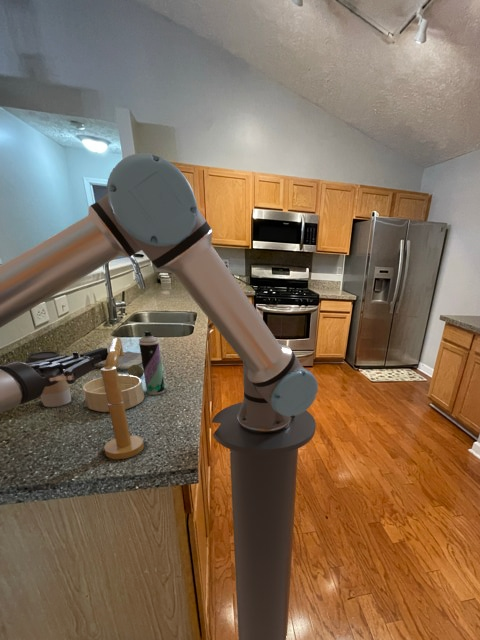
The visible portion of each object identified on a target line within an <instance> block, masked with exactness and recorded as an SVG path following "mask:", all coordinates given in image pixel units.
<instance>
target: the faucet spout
mask: <svg viewBox="0 0 480 640" xmlns="http://www.w3.org/2000/svg"><path fill="white" fill-rule="evenodd" d="M122 344H123V342H122V340H121V339H120V338H118V337H114V338H113V339H112V340H111V343H110V347H109V349H108V355H107V359H106V362H105V365H104V368H100V374H101V377H102V378H103V382H104V387H105V392H106V396H107V401H108V403H109V404H118V403H120V402H122V395H121V390H120V385H119V380H118V375H119V374H118V370H117V365H118V360H119V357H121V356H123V355H124V354H123V352H124V349H123V345H122Z"/></svg>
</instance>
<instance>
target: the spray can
mask: <svg viewBox="0 0 480 640" xmlns="http://www.w3.org/2000/svg"><path fill="white" fill-rule="evenodd" d="M159 343H160V342H159V339H158V338H157V337H155V336H154V335H153V334H152V332H151V331H148V330H144V332H143V335H142V337H141V338H139V339H138V346H139V351H140V352H139V353H141V358H142V364H143V366H142V368H143V371H144V374H143V377H144V383H145V389H146V394H148V395H150V396H158V395H162V394H164V393H165V392H166V388H165V379H164V373H163V366H162V358H161V357H162V356H161V351H160V344H159Z"/></svg>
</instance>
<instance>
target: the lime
mask: <svg viewBox="0 0 480 640" xmlns="http://www.w3.org/2000/svg"><path fill="white" fill-rule="evenodd" d="M127 373H128V374H127V375H131V376H136V377H139V378H140V379H141V378H143V377H144V370H143V366H139V365H132V366H130V367H129V370H128V371H127Z"/></svg>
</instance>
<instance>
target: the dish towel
mask: <svg viewBox="0 0 480 640" xmlns="http://www.w3.org/2000/svg"><path fill="white" fill-rule="evenodd" d="M123 354H124V355H123V356H121V357H119V360H118V365H117V371H122V372H128V370H129V367H130V366H132V365H139V366H141V367H143V364H142V358H141V352H133V351H129V350H127V351H123ZM105 362H106V360H105V361H102V362H99V363H97V364H94V365H95V369H96V368H97V369H101V368H104V365H105Z"/></svg>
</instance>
